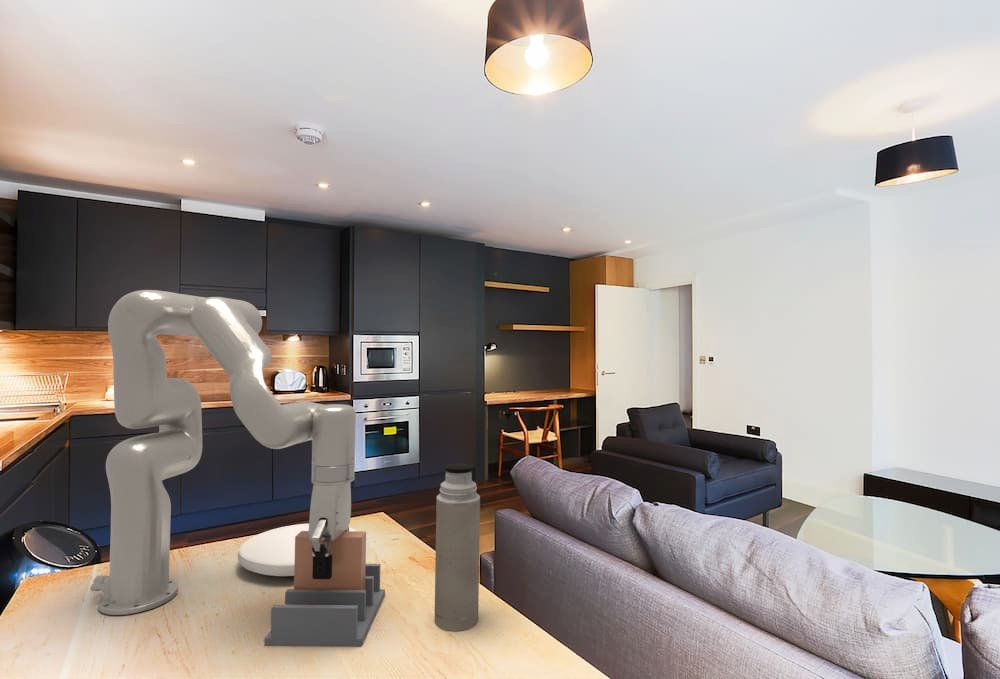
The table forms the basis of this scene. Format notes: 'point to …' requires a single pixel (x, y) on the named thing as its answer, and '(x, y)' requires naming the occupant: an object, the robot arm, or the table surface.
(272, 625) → the dish rack
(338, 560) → the tile
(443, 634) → the table surface
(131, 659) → the table surface
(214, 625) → the table surface
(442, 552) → the thermos bottle
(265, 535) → the plate
